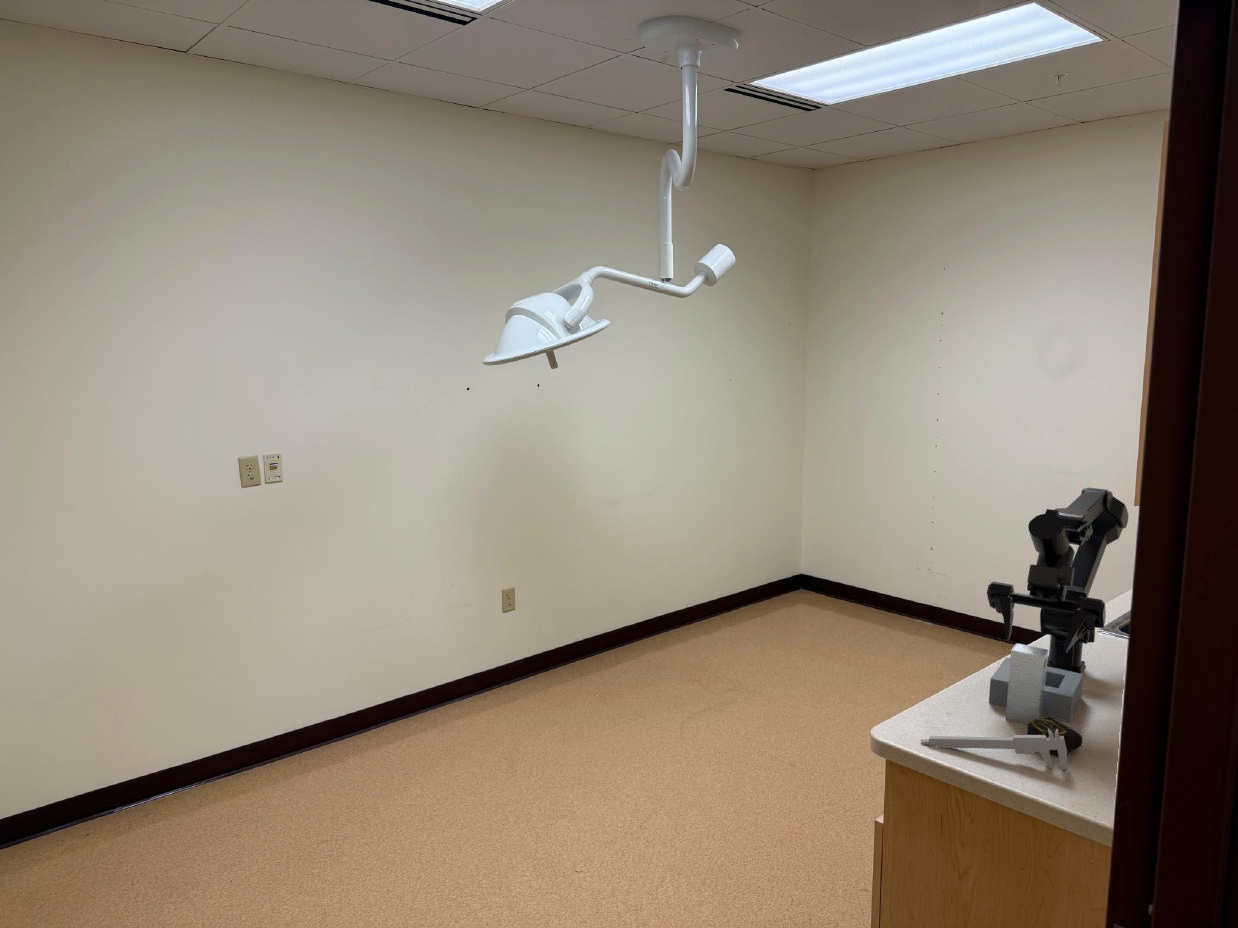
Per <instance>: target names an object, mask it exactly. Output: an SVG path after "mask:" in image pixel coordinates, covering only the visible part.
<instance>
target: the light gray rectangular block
mask: <svg viewBox="0 0 1238 928" xmlns="http://www.w3.org/2000/svg"><path fill="white" fill-rule="evenodd" d="M1048 656H1049V649H1045V648H1042V647H1036V646H1031V645H1026V644H1022V643H1017V642H1016V643H1015V644H1014V646H1013V647H1012V649H1011V650H1010V671H1009V684H1008V696H1007V706H1006V709H1005V720H1006V721H1010V722H1013V723H1017V724H1021V725H1024V726H1025V725H1026V726H1028V724H1029V723H1030V722H1031V721H1032V720H1034V719H1038V718H1039V719H1043V717H1044V716H1043V704H1044V693H1045V682H1046V670H1047V659H1048Z"/></svg>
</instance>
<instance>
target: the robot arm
mask: <svg viewBox="0 0 1238 928" xmlns="http://www.w3.org/2000/svg"><path fill="white" fill-rule="evenodd" d="M1128 522H1129V512H1128V509H1127V506H1126V503H1124V502H1122V501H1121V500H1119V499H1118V498H1117V497H1115V496H1113V492H1112V491H1109V489H1103V488H1095V487H1086V488H1083V489H1082V490H1081V493H1080V495H1079V496H1077V498H1076V499H1075V500H1074V501H1072V502H1071V503H1070V504H1069V505H1068V506H1067V507H1059V508H1054V509H1052V508H1051V509H1049V508H1046V510H1045V513H1042V514H1038V515H1036V516H1034V517H1033V518H1032V519H1031V520H1030V521H1029V523H1028V526H1027V527H1028V532H1029V535H1030V538H1031V541H1032V545H1033V547H1034V550H1035V551H1036V552H1037V553H1038V556H1037V559H1036V563H1035V564H1030V565H1029V570H1028V575H1027V586H1026V590H1027V591H1028V594H1026V593H1020V592H1015V589H1014V585H1013V584H1010V583H1004V582H997V581H992V582H991V583H989V584H988V587H987V590H986V595H987V596H986V597H987V600H988V604H989V607H990V608H992V609H995V611H996V613H998V614H1001V615H1002V619H1003V626H1004V635H1005V641H1006V642H1009V641H1010V639H1011V635H1012V628H1013V623H1014V616H1015V614H1014V613H1015V612H1014V608H1015V604H1018V605H1022V606H1026V607H1027V606H1028V607H1034V608H1039V609H1040V611H1039V622H1040V623H1039V625H1040V627H1039V628H1040V634H1043V635H1044V634H1045V635H1047V636H1049V637H1050V639H1049V648H1048V659H1047V666H1048V667H1052V668H1057V669H1062V670H1066V671H1071V672H1076V673H1080V674H1082V671H1083V669H1084V667H1085V666H1086V665H1085V664H1086V661H1084V660H1082V655H1083V648H1084V647H1083V645H1085V644H1086V645H1088V644H1089V643H1095V640H1096V628H1097V629H1103V628H1105V623H1106V617H1107V613H1106V610H1107V609H1106V603H1105V601H1104V600H1103V599H1100V598H1095V597H1094V598H1093V597H1088V596H1089V594H1090V592H1091V589H1092V586H1093V585H1094V584H1093V583H1094V580H1095V578H1096V575H1097V572H1098V570H1099V568H1100V564H1101V562H1102V560H1103V559H1102V558H1103V556H1104V553H1105V551H1106V549H1107V546H1108V545H1110V544H1111V543H1113V542H1114V541H1117V540H1118V539H1119V538H1120V536H1121V534H1122V532H1123V530H1124V529H1127V526H1128ZM1071 545H1075V546H1078V548H1077V550H1076V552H1075V550H1074V548H1073V546H1071Z"/></svg>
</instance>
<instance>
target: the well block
mask: <svg viewBox="0 0 1238 928" xmlns="http://www.w3.org/2000/svg"><path fill="white" fill-rule="evenodd" d="M1010 659H1011V657H1005V658H1004V660H1003V661H1002V662H1001V664H1000V665H999V666H998V667H997V669H996V670H995V672H994V673H993V674H992V676H991V677H990V683H989V691H988V693H989V696H988V703H991V704H994V705H995V704H996V705H999V706H1003V707H1007V696H1008V684H1009V671H1010ZM1083 678H1084V674H1083V673H1076V672H1071V671H1066V670H1062V669H1057V668H1052V667H1048V666H1047V670H1046V682H1045V693H1044V704H1043V716H1042V717H1050V718H1052V719H1054V720H1060V721H1064V722H1068V723H1070V722H1071V721H1072V718H1073V716H1074V714H1075V712H1076V709H1077V707H1078V705H1079V703H1080V701H1081V698H1082V691H1083V690H1082V689H1083V680H1084V679H1083Z"/></svg>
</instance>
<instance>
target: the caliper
mask: <svg viewBox="0 0 1238 928" xmlns="http://www.w3.org/2000/svg"><path fill="white" fill-rule="evenodd" d="M1048 733H1049V738H1046V735H1027V734H1013V737H1005V736H1004V737H1003V736H1002V737H1000V736H999V737H998V736H953V735H950V736H946V735H945V736H942V735H941V736H940V735H935V736H934V735H929V738H922V739H921V740H920V744H921V743H922V744H921V745H929V746H930V745H931V746H930V747H935V746H937V747H936V748H940V747H941V748H943V749H945V748H946V749H947V748H948V749H992V750H998V749H999V750H1015V754H1016V755H1021V754H1024V755H1031V754H1034V753H1039V754H1040V756H1041V757H1042V759H1043V761H1044V763H1045V764H1046V767H1047V768H1048V769H1053V763H1052V757H1051V752H1049V750H1057V751H1058V753H1057V754H1058V759H1059V763H1060V768H1061V769H1060V770H1061V771H1063V770H1065V769H1066V767H1067V754H1068V752H1067V749H1066V745H1065V741H1064V736H1059V733H1058V729H1056V731H1055V738H1054V735H1053V733H1052V732H1051V731H1050V729H1048Z"/></svg>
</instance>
